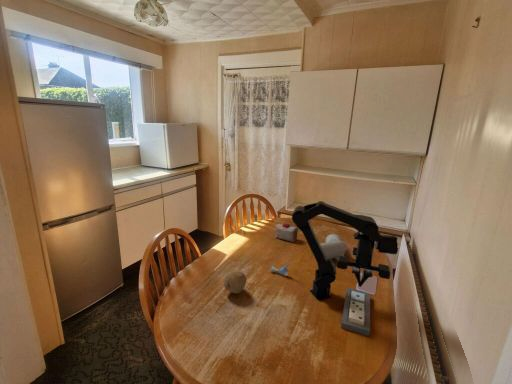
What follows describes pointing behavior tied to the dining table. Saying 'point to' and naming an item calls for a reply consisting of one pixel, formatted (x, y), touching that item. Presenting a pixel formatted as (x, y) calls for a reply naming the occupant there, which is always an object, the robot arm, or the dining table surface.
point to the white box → (286, 232)
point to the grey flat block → (366, 328)
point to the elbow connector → (333, 247)
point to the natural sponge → (235, 281)
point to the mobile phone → (368, 285)
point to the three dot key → (356, 306)
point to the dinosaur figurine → (281, 271)
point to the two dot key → (356, 317)
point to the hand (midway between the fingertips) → (359, 286)
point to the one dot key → (358, 296)
